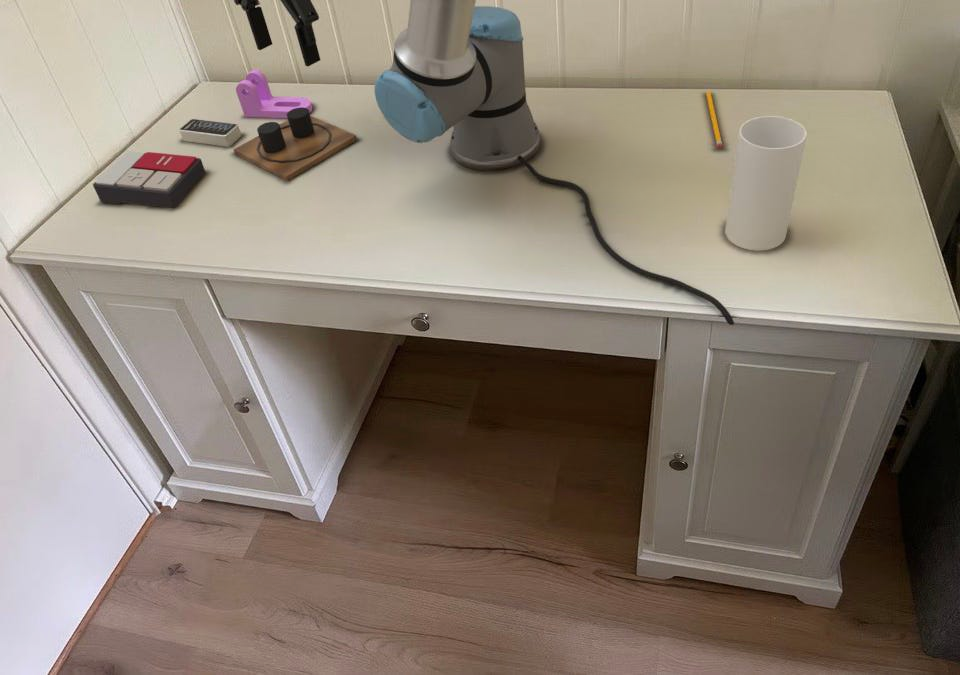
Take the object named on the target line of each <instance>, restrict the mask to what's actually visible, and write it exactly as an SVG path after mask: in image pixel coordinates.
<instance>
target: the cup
mask: <svg viewBox="0 0 960 675" xmlns="http://www.w3.org/2000/svg"><path fill="white" fill-rule="evenodd" d="M807 134H808V133H807V129H806V128H805V127H804V125H802V123H800V122H798V121H796V120H794V119H792V118H789V117H785V116H778V115H764V116H758V117H753V118H750V119H748V120H747V121H745V122H743V123H742V124H741V125H740V128H739V131H738V136H737V142H736V148H735V149H736V150H735V157H734V158H735V159H734V165H733V171H732V178H731V185H730V193H729V199H728V208H727V213H726V221H725V227H724V233H725V236H726V238H727V240H728V241H729V242H730V243H732V244H733V245H735V246H737V247H738V248H742V249H743V250H744V249H745V250H749V251H756V252H758V251H769V250H772V249H775V248H777V247H779V246H780V245H781V244H783V243H784V241H785V240H786V237H787V233H788V227H789V223H790V219H791V213H792V208H793V204H794V199H795V195H796V189H797V185H798V179H799V175H800V171H801V165H802V162H803V161H802V160H803V156H804V151H805V146H806V140H807Z"/></svg>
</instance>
